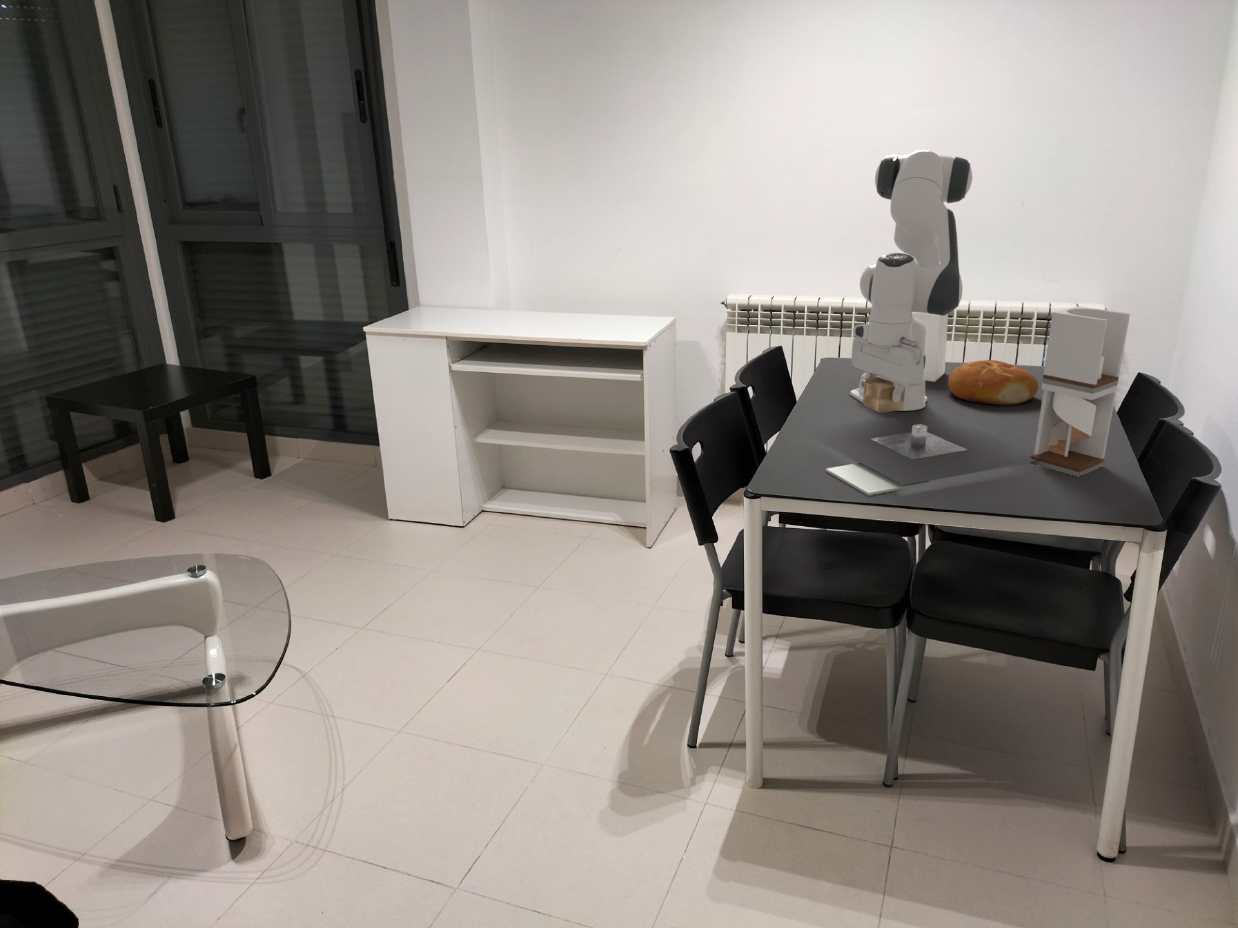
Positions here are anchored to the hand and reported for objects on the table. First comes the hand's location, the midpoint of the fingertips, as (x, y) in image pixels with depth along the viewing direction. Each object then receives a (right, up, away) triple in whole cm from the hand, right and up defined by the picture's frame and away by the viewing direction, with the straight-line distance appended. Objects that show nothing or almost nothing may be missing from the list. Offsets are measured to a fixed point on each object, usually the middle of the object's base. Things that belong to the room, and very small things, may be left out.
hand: (883, 396), depth 198 cm
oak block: (0, -2, +1) cm, 2 cm away
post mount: (+15, -11, +23) cm, 30 cm away
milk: (+37, +13, +88) cm, 96 cm away
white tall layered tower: (+45, -15, +12) cm, 49 cm away
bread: (+49, +4, +64) cm, 81 cm away
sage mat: (0, -18, +6) cm, 19 cm away
